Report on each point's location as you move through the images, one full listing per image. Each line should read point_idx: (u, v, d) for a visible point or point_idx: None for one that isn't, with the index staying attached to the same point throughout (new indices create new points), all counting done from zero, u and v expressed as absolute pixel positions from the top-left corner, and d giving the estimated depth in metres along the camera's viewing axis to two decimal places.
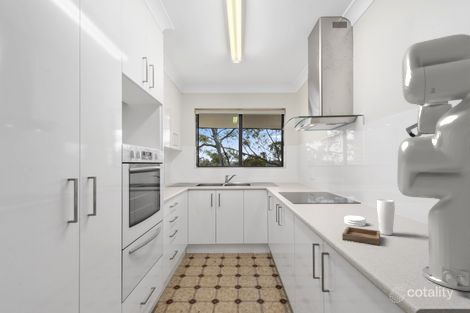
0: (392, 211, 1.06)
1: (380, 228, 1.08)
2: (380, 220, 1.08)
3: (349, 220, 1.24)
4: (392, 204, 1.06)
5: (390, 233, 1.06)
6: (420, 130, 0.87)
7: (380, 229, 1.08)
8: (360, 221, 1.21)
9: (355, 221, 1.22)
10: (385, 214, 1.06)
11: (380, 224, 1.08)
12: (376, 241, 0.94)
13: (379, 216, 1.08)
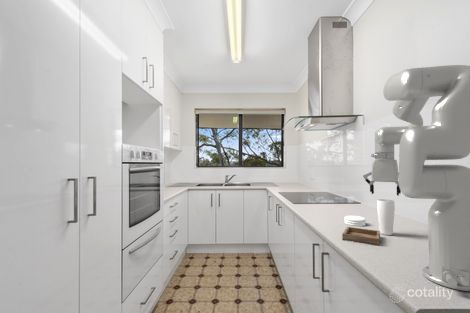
0: (392, 211, 1.06)
1: (380, 228, 1.08)
2: (380, 220, 1.08)
3: (349, 220, 1.24)
4: (392, 204, 1.06)
5: (390, 233, 1.06)
6: (373, 179, 1.09)
7: (380, 229, 1.08)
8: (360, 221, 1.21)
9: (355, 221, 1.22)
10: (385, 214, 1.06)
11: (380, 224, 1.08)
12: (376, 241, 0.94)
13: (379, 216, 1.08)
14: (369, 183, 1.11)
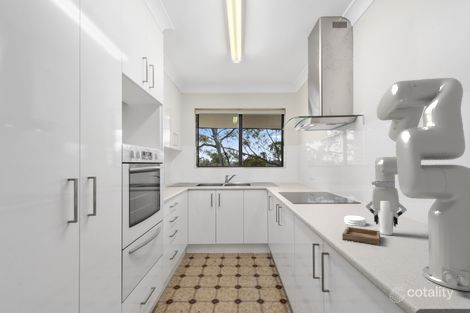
0: (392, 211, 1.06)
1: (380, 228, 1.08)
2: (380, 220, 1.08)
3: (349, 220, 1.24)
4: None
5: (390, 233, 1.06)
6: (373, 207, 1.09)
7: (380, 229, 1.08)
8: (360, 221, 1.21)
9: (355, 221, 1.22)
10: (385, 214, 1.06)
11: (380, 224, 1.08)
12: (376, 241, 0.94)
13: (379, 216, 1.08)
14: (373, 213, 1.10)
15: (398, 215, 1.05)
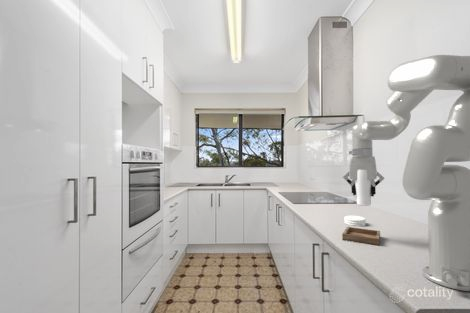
0: (369, 180, 1.00)
1: (357, 199, 1.03)
2: (357, 190, 1.02)
3: (349, 220, 1.24)
4: None
5: (367, 203, 1.00)
6: (350, 177, 1.03)
7: (357, 200, 1.03)
8: (360, 221, 1.21)
9: (355, 221, 1.22)
10: (362, 184, 1.00)
11: (357, 194, 1.02)
12: (376, 241, 0.94)
13: (356, 186, 1.03)
14: (350, 184, 1.04)
15: (375, 184, 1.00)
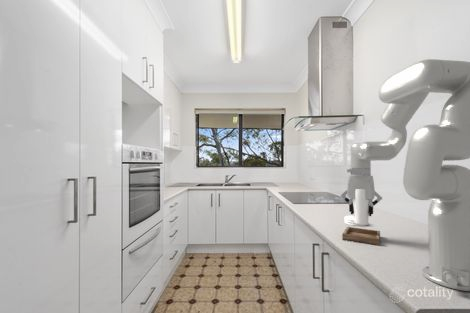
0: (367, 200, 1.00)
1: (355, 218, 1.02)
2: (355, 209, 1.02)
3: (349, 220, 1.24)
4: None
5: (365, 223, 1.00)
6: (348, 196, 1.03)
7: (355, 219, 1.02)
8: None
9: None
10: (359, 203, 1.00)
11: (355, 214, 1.02)
12: (376, 241, 0.94)
13: (354, 205, 1.02)
14: (348, 202, 1.04)
15: (373, 204, 0.99)
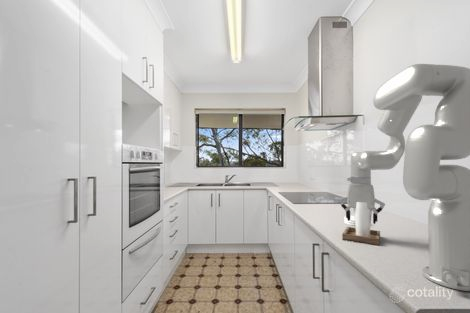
0: (369, 213, 0.99)
1: (356, 231, 1.02)
2: (356, 223, 1.01)
3: None
4: None
5: (367, 236, 0.99)
6: (348, 205, 1.03)
7: (356, 232, 1.02)
8: None
9: None
10: (361, 217, 0.99)
11: (356, 227, 1.01)
12: (376, 241, 0.94)
13: (355, 218, 1.02)
14: (345, 209, 1.05)
15: (378, 211, 0.98)
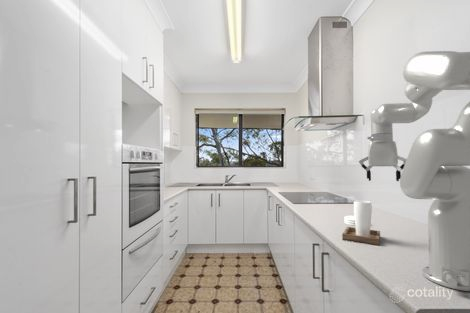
0: (369, 213, 0.99)
1: (356, 231, 1.02)
2: (356, 223, 1.01)
3: (349, 220, 1.24)
4: (369, 206, 0.99)
5: (367, 236, 0.99)
6: (370, 163, 0.98)
7: (356, 232, 1.02)
8: None
9: None
10: (361, 217, 0.99)
11: (356, 227, 1.01)
12: (376, 241, 0.94)
13: (355, 218, 1.02)
14: (366, 169, 1.00)
15: (401, 168, 0.95)
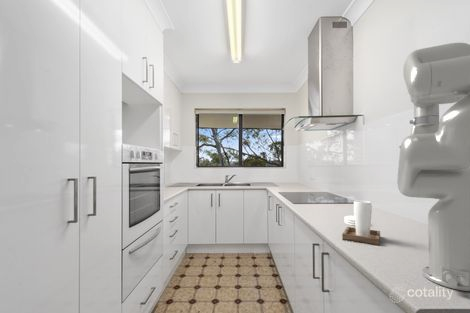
0: (369, 213, 0.99)
1: (356, 231, 1.02)
2: (356, 223, 1.01)
3: (349, 220, 1.24)
4: (369, 206, 0.99)
5: (367, 236, 0.99)
6: None
7: (356, 232, 1.02)
8: None
9: None
10: (361, 217, 0.99)
11: (356, 227, 1.01)
12: (376, 241, 0.94)
13: (355, 218, 1.02)
14: None
15: None
